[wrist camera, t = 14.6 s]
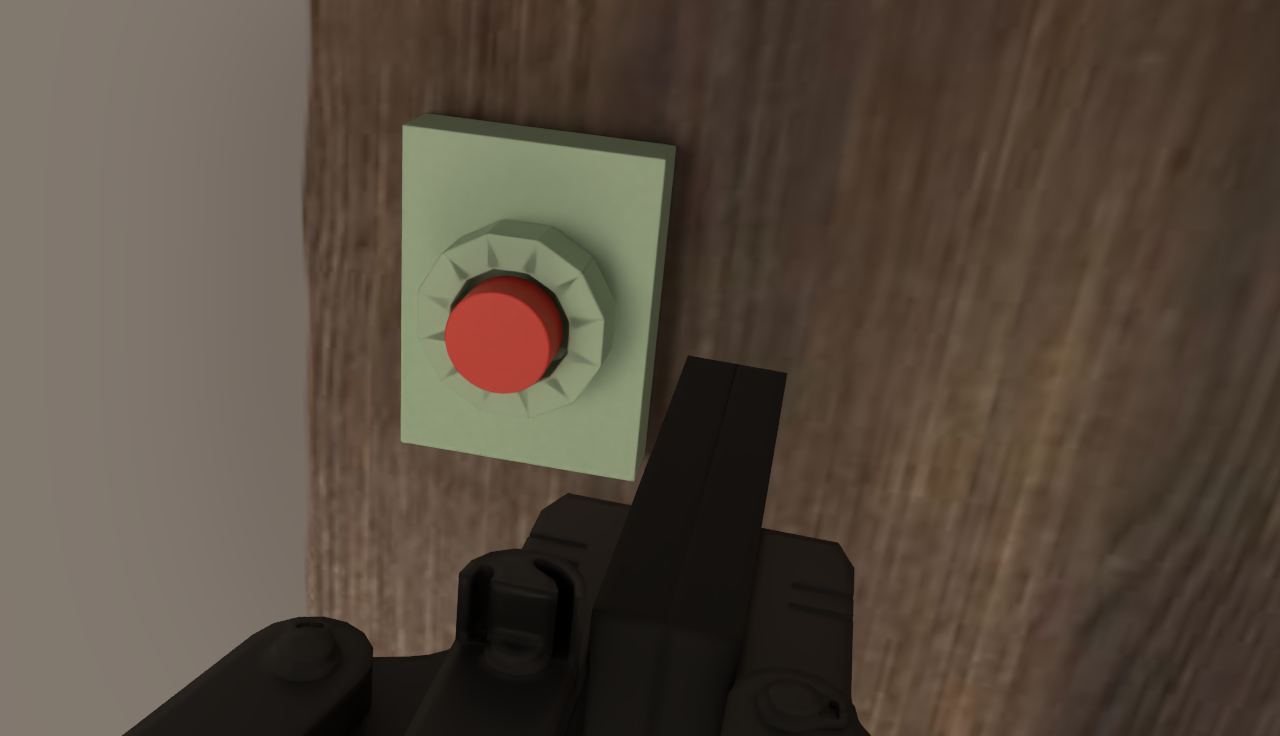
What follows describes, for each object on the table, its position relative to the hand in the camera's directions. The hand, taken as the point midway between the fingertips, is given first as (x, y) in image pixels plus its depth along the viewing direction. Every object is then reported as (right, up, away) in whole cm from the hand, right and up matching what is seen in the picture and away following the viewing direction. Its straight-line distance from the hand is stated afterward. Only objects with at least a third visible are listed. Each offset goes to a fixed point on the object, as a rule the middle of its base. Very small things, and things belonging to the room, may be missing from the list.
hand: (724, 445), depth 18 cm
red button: (-6, +3, +22) cm, 22 cm away
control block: (-5, +4, +25) cm, 26 cm away
